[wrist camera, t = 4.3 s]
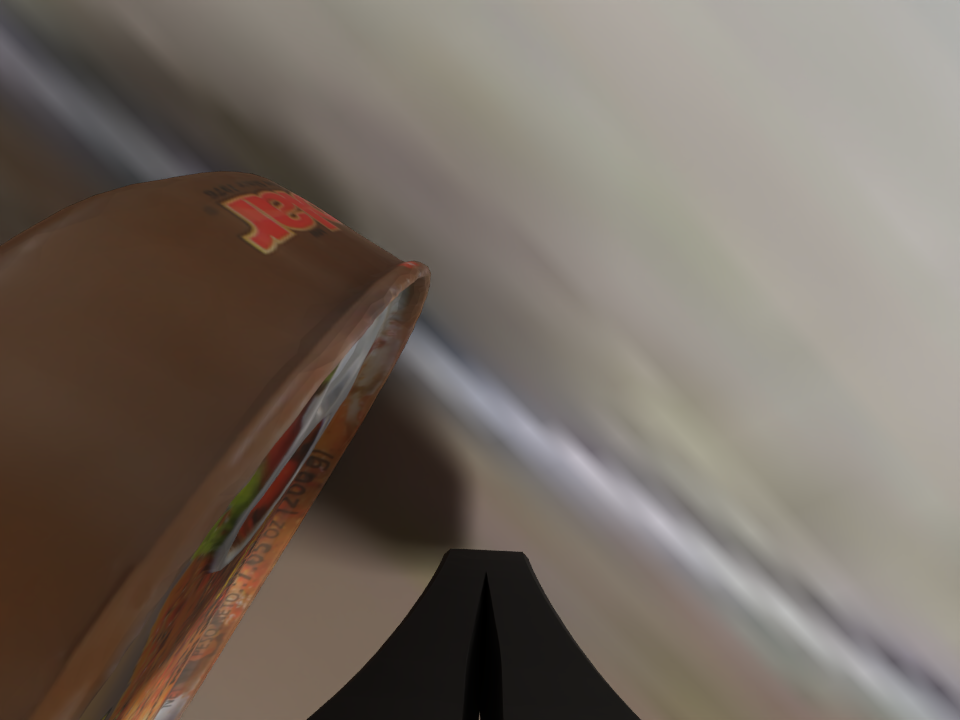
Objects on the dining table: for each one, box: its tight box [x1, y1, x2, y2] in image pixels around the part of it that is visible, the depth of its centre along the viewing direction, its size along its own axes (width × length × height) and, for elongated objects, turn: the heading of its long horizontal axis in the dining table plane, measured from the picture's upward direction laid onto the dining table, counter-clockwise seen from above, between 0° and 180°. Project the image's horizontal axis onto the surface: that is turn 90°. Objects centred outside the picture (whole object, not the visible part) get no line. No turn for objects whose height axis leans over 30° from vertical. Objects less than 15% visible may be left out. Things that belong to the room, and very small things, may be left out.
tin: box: [0, 171, 431, 720], centre depth 9 cm, size 15×3×8 cm, turn 148°
